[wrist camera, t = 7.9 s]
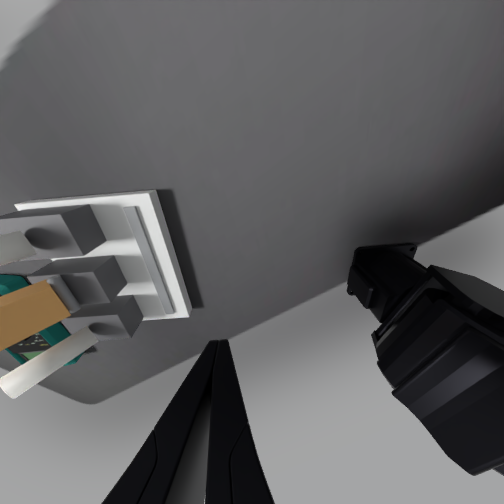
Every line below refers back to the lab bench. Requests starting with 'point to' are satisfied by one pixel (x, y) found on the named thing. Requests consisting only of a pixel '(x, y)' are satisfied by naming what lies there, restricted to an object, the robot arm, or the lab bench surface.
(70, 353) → the twin post stand
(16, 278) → the digital multimeter
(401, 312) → the robot arm
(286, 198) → the lab bench surface
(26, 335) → the wooden block
